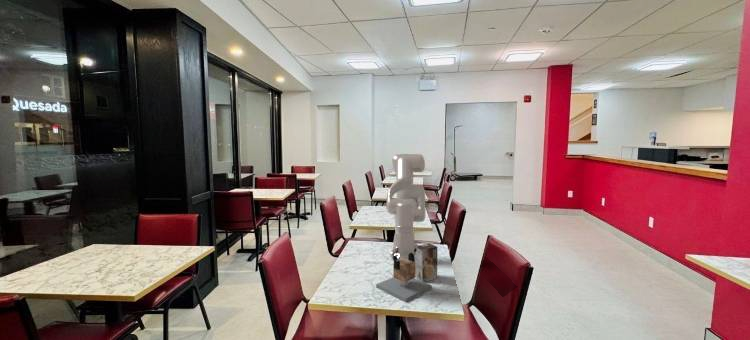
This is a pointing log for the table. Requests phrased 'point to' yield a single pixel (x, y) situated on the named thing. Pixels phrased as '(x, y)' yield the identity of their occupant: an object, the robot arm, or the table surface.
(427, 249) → the coffee box
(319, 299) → the table surface
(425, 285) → the post stand
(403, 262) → the brown wooden cube
